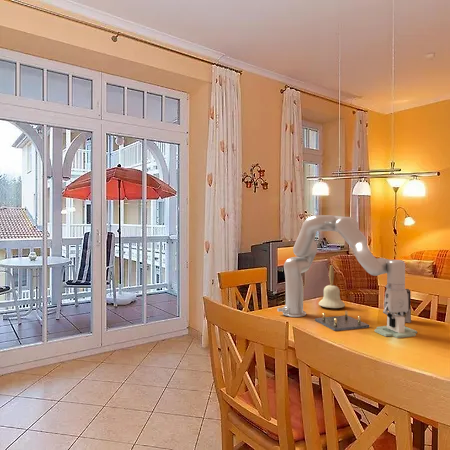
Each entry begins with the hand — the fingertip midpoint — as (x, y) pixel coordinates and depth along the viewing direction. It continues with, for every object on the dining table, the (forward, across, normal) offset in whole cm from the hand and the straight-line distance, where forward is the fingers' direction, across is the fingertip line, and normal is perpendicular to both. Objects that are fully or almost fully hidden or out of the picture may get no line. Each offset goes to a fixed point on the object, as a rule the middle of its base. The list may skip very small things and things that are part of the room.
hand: (395, 326), depth 176 cm
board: (+3, 0, 0) cm, 3 cm away
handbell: (+4, -2, +52) cm, 52 cm away
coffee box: (+3, +16, +16) cm, 23 cm away
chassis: (+3, -16, +20) cm, 26 cm away
